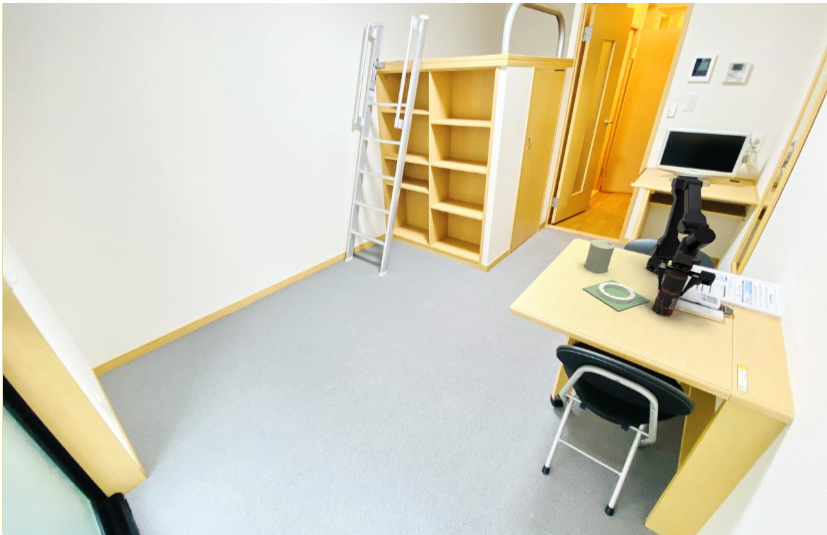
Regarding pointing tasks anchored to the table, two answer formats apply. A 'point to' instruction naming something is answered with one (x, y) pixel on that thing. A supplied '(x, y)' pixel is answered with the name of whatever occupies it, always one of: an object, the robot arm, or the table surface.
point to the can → (599, 256)
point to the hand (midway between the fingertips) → (669, 293)
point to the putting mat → (616, 295)
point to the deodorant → (669, 293)
